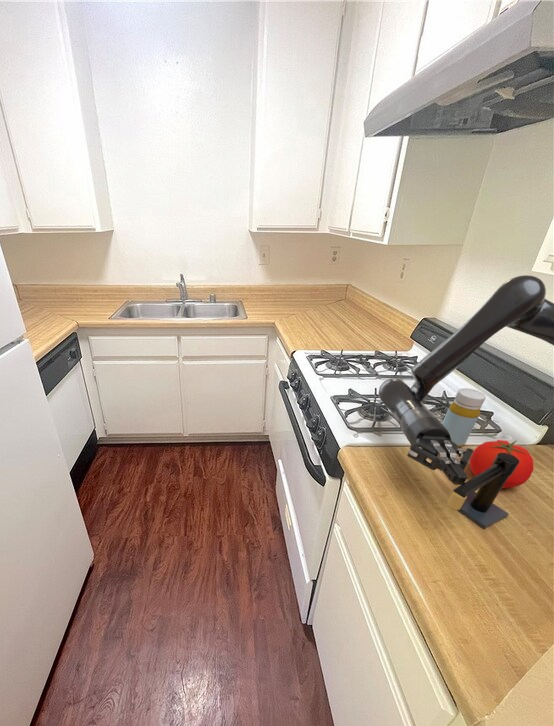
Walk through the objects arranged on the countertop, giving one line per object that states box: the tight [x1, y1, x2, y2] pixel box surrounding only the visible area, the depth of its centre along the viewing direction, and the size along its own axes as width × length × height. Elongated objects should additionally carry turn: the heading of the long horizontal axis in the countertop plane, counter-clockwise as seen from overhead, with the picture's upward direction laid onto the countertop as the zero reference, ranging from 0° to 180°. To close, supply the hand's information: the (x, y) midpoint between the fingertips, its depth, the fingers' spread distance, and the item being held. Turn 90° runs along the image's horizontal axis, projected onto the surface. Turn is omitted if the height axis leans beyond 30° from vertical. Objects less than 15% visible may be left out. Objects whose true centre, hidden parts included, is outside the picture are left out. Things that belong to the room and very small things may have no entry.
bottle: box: [441, 387, 487, 448], centre depth 93 cm, size 7×7×15 cm
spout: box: [446, 453, 519, 511], centre depth 65 cm, size 18×4×5 cm, turn 122°
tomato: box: [469, 439, 534, 489], centre depth 80 cm, size 12×12×10 cm
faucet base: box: [457, 474, 510, 530], centre depth 72 cm, size 8×8×11 cm
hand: (461, 481), depth 63 cm, fingers closed
